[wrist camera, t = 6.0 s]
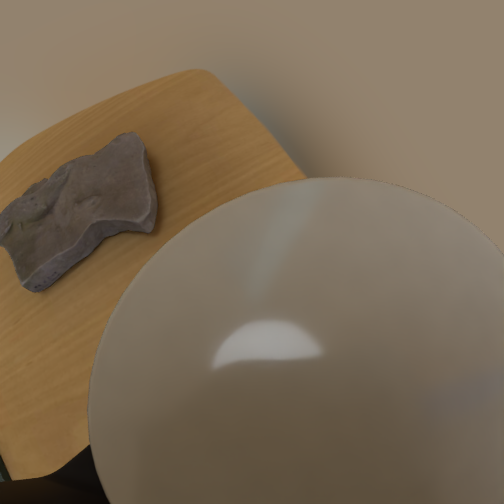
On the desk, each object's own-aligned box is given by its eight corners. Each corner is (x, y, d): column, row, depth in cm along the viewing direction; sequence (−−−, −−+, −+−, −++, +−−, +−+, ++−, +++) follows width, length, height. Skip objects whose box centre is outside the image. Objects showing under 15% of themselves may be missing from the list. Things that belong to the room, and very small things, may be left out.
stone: (146, 133, 25) (128, 101, 21) (179, 225, 22) (158, 197, 18) (17, 211, 24) (-10, 192, 20) (26, 305, 21) (-9, 293, 17)
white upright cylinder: (358, 388, 14) (578, 441, 2) (274, 435, 13) (235, 646, 1) (313, 308, 15) (405, 114, 3) (229, 354, 15) (29, 313, 3)
